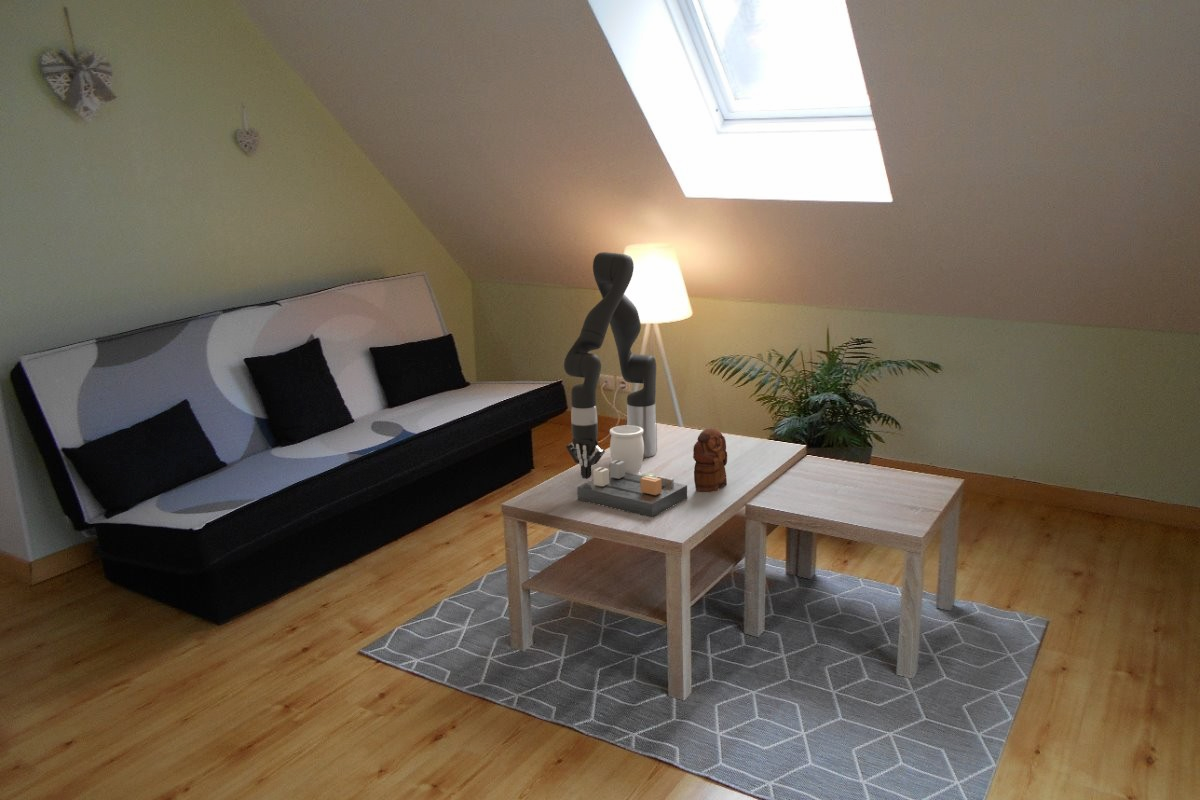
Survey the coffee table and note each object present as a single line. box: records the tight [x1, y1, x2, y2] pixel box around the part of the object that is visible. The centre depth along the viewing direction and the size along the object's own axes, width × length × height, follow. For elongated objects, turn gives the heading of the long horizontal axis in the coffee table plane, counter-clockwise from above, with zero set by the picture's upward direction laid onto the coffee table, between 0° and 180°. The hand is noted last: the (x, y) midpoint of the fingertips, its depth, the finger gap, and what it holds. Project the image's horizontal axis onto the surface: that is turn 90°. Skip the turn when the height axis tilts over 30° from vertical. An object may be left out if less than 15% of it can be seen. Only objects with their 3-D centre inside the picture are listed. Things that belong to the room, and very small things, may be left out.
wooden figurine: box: [692, 427, 728, 493], centre depth 296 cm, size 12×6×18 cm, turn 141°
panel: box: [576, 471, 688, 518], centre depth 289 cm, size 18×26×6 cm
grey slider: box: [609, 460, 625, 479], centre depth 296 cm, size 3×3×5 cm
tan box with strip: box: [641, 476, 662, 495], centre depth 282 cm, size 3×5×4 cm, turn 53°
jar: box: [609, 424, 644, 476], centre depth 308 cm, size 11×10×15 cm
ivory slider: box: [592, 466, 610, 487], centre depth 290 cm, size 3×3×5 cm
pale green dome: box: [641, 472, 657, 478], centre depth 291 cm, size 4×4×2 cm
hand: (586, 477), depth 294 cm, fingers closed
